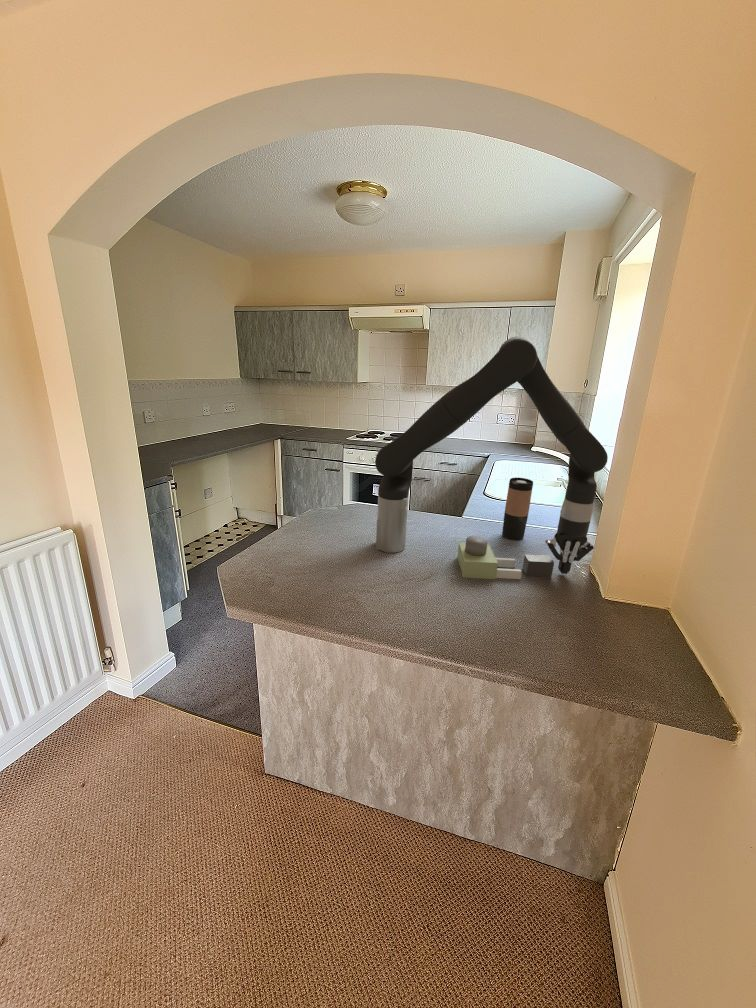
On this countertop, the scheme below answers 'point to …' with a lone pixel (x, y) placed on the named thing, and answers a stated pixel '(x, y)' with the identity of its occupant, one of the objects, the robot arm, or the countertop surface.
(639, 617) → the countertop surface
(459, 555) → the two-prong plug
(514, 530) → the travel mug
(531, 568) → the dark grey box
